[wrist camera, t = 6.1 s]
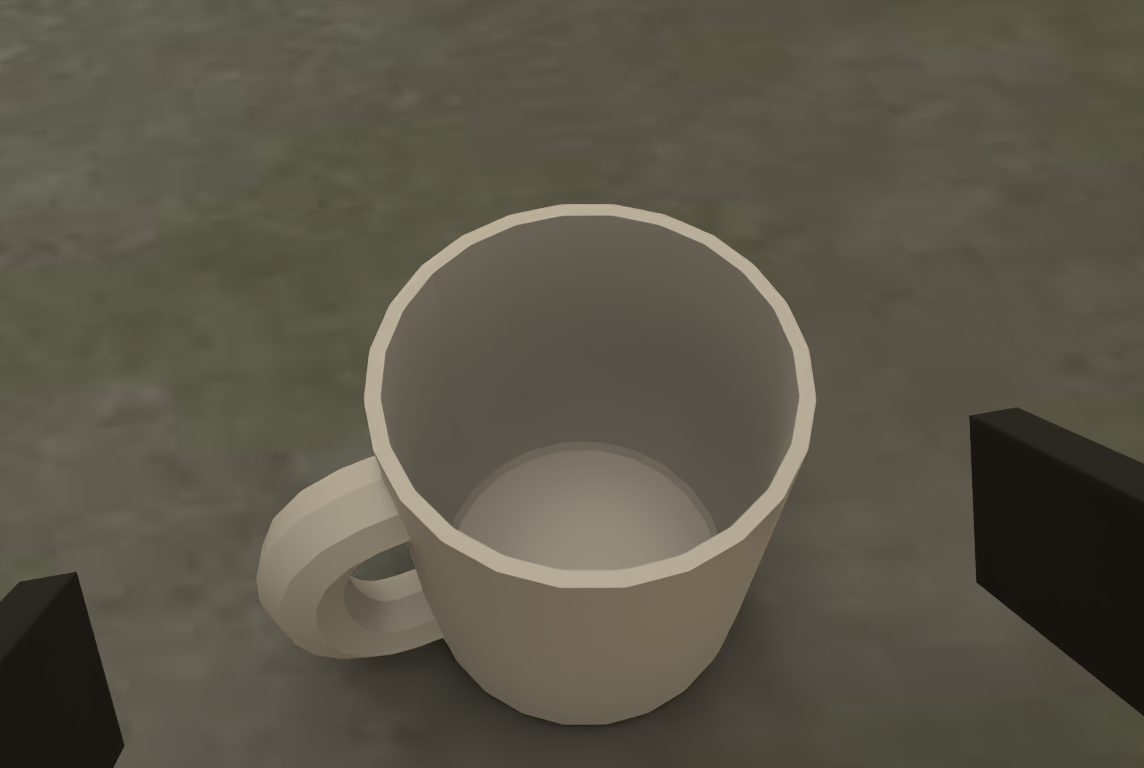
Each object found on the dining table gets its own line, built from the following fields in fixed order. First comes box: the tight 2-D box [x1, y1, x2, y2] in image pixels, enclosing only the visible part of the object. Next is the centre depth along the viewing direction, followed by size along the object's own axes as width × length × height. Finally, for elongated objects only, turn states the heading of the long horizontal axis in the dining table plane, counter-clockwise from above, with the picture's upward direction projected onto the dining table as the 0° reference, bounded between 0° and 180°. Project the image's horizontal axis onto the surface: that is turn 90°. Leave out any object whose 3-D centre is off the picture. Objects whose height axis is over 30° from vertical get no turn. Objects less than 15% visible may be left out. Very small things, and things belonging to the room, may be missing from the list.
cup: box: [256, 204, 816, 725], centre depth 20 cm, size 7×10×9 cm
